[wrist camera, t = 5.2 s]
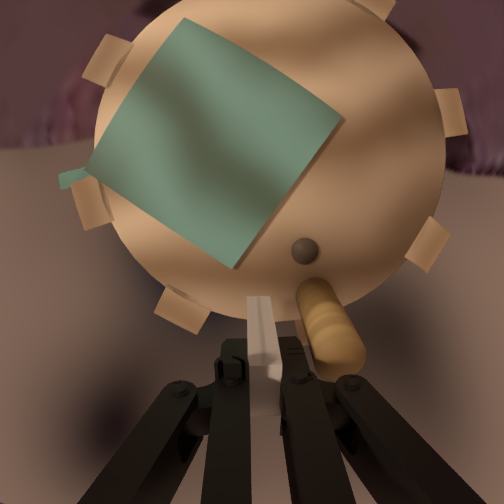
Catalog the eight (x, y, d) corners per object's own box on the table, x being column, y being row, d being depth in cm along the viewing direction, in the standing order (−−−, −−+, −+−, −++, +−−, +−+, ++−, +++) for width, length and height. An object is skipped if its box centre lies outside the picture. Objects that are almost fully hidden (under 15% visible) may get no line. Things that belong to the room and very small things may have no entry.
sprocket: (55, 43, 17) (-22, 11, 8) (391, -39, 15) (442, -96, 6) (154, 360, 24) (120, 443, 15) (466, 277, 22) (535, 329, 13)
